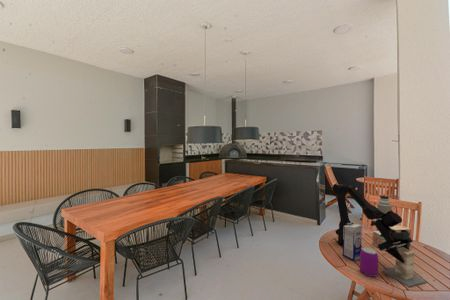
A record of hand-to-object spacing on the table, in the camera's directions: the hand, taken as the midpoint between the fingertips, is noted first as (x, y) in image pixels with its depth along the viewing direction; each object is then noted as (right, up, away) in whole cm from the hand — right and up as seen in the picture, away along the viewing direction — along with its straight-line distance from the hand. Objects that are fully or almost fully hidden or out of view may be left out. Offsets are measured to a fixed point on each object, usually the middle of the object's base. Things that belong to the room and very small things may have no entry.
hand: (407, 261), depth 102 cm
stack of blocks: (+18, -8, +33) cm, 38 cm away
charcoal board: (0, -9, +2) cm, 9 cm away
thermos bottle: (+26, -7, +50) cm, 57 cm away
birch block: (-1, -8, +2) cm, 8 cm away
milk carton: (-16, -8, +20) cm, 27 cm away
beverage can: (-16, -9, +5) cm, 19 cm away
